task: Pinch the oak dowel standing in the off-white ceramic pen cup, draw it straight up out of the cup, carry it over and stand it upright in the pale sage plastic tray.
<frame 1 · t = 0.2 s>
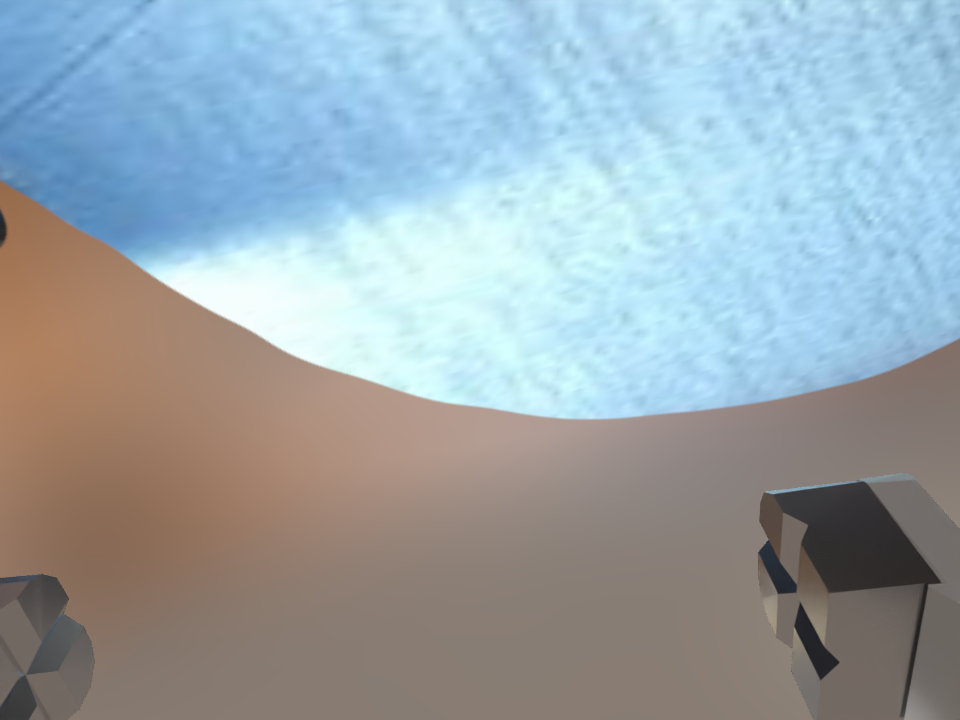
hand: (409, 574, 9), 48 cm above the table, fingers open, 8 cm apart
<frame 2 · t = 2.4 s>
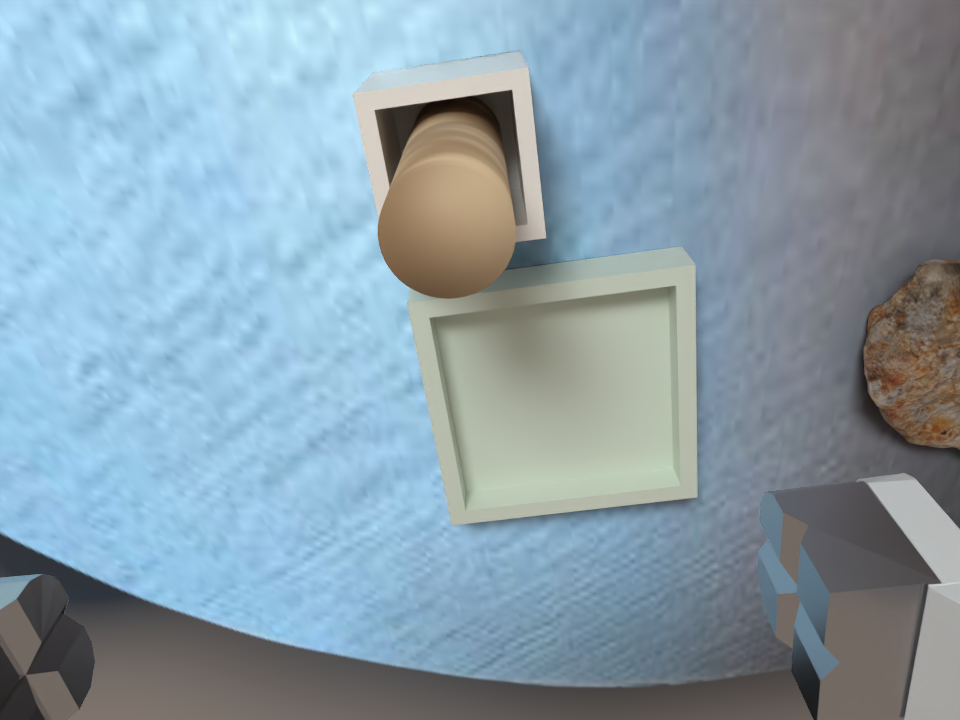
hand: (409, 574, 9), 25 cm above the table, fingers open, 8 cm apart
pen cup: (457, 136, 31), on the table
dowel: (456, 139, 30), point 1 cm above the table, touching pen cup
rock: (943, 342, 36), on the table
tray: (557, 382, 36), on the table
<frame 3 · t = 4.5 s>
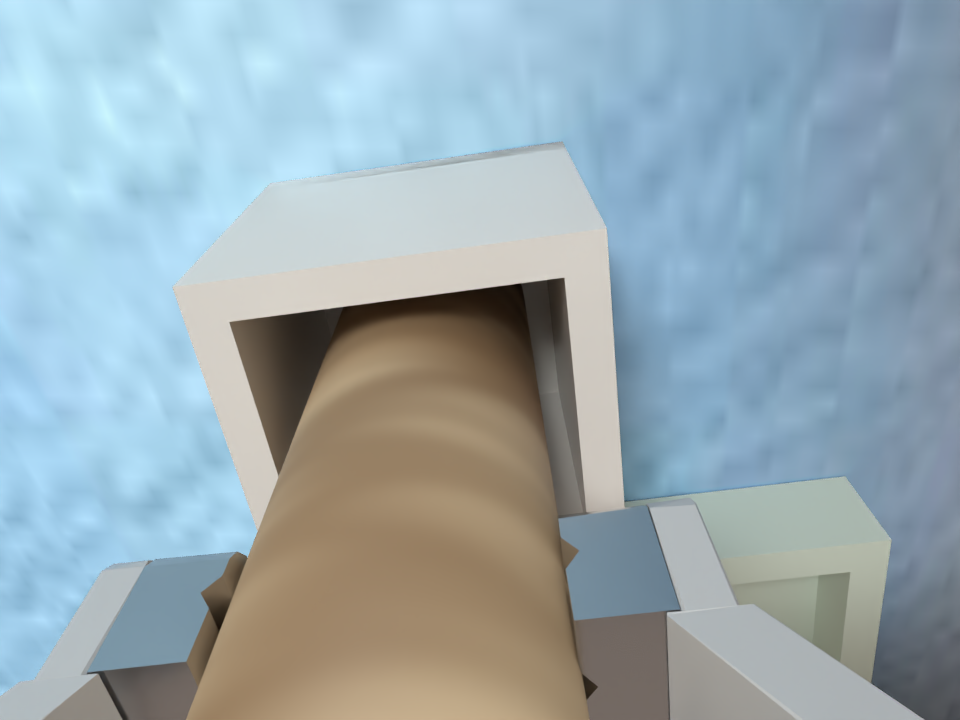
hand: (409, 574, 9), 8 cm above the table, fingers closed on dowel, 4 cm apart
pen cup: (438, 298, 16), on the table
dowel: (437, 309, 16), point 1 cm above the table, touching gripper, pen cup
tray: (612, 672, 21), on the table
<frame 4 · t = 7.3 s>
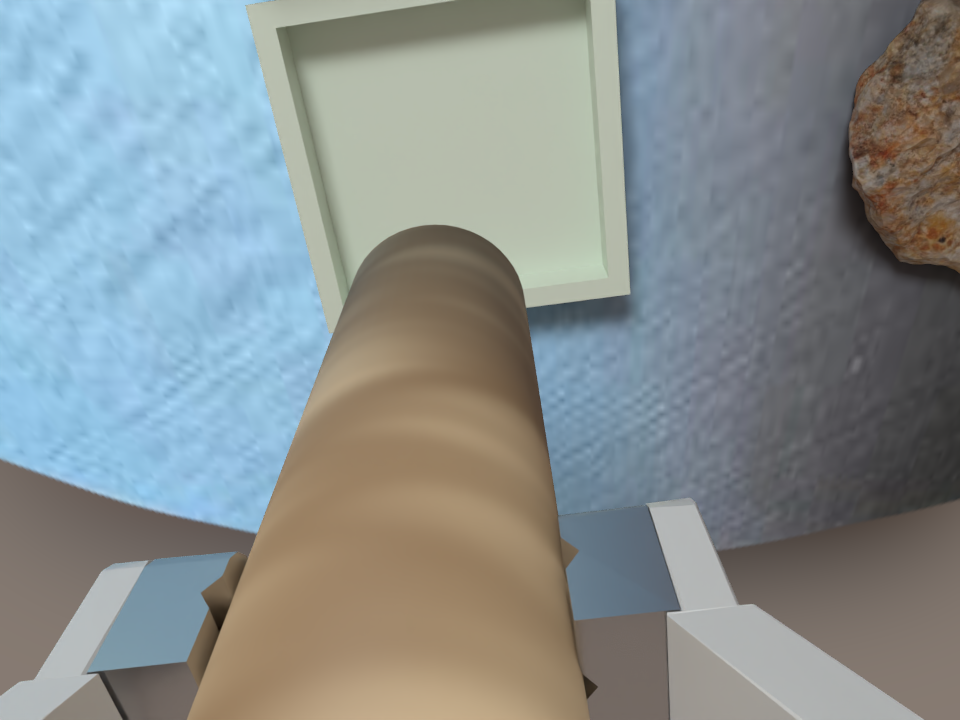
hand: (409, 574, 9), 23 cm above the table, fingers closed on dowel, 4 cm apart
dowel: (437, 309, 16), point 15 cm above the table, touching gripper
rock: (945, 132, 30), on the table
tray: (456, 148, 29), on the table
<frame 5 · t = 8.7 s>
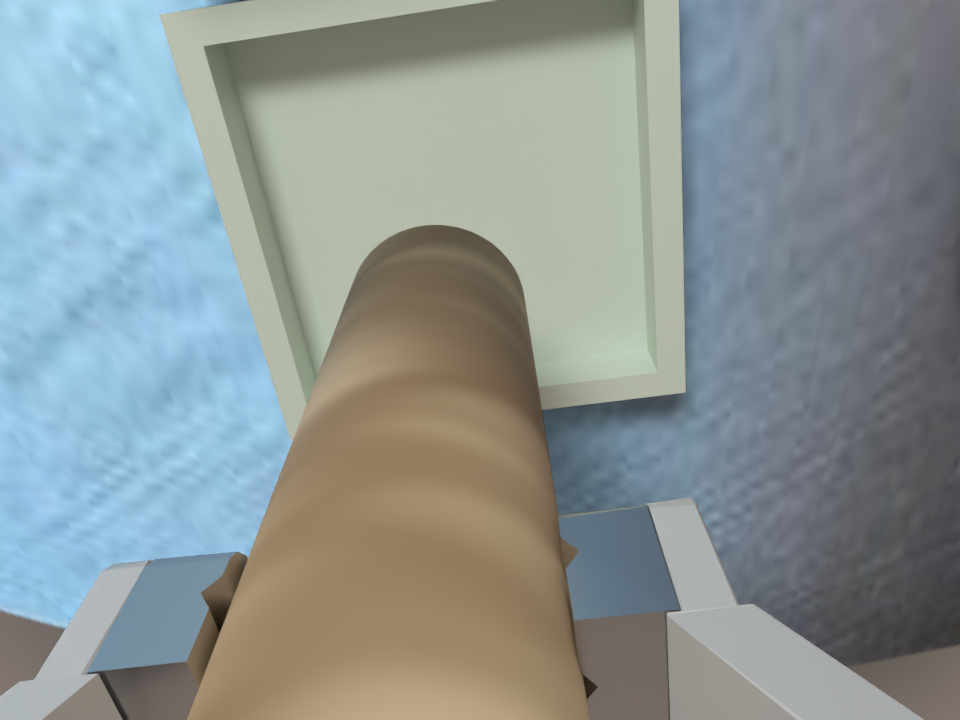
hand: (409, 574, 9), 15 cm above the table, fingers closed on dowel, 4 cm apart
dowel: (437, 309, 16), point 7 cm above the table, touching gripper
tray: (456, 201, 22), on the table
when the fingers open (9 cm above the table, at t = 10.1 s): dowel stays where it is, resting on tray.
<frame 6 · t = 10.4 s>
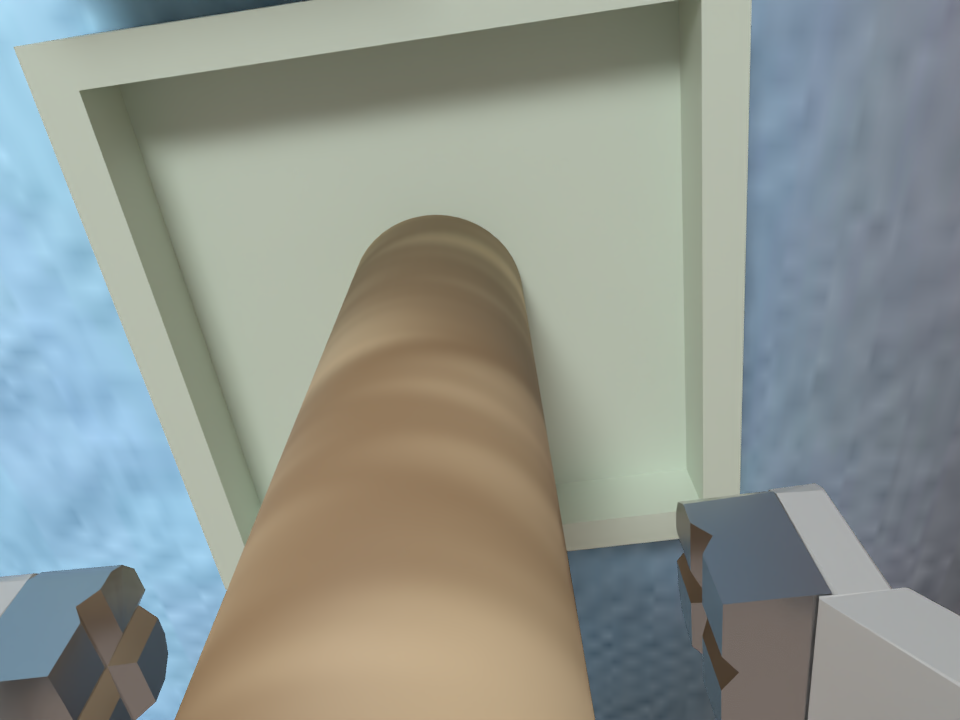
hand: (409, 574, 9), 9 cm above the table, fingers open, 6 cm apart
dowel: (438, 297, 16), point 1 cm above the table, touching tray
tray: (439, 285, 17), on the table
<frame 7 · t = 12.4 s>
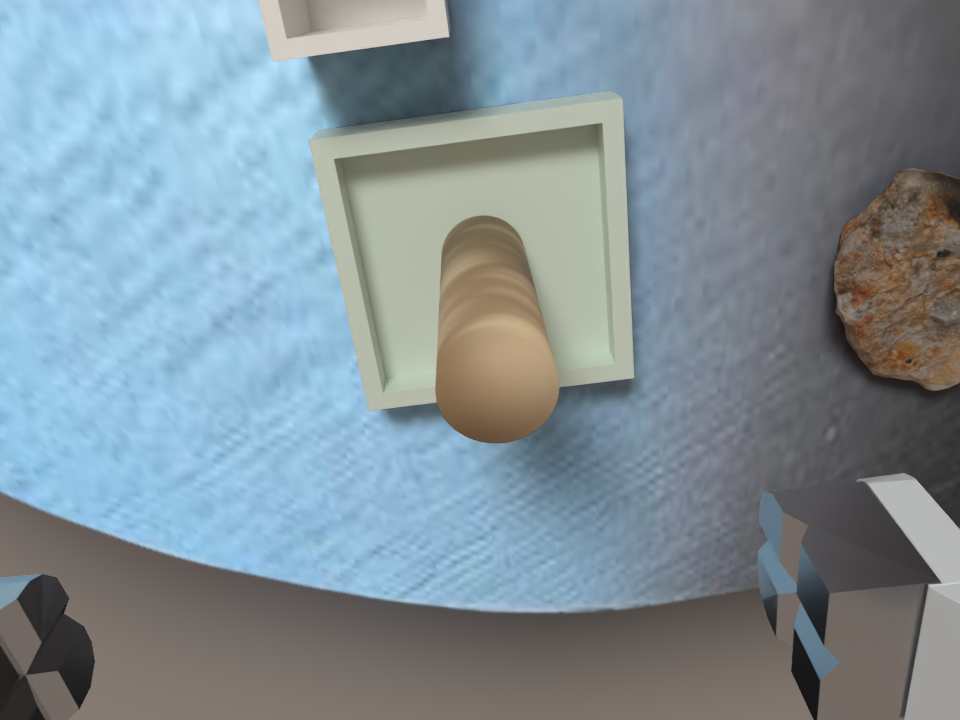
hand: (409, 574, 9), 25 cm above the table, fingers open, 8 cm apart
dowel: (483, 256, 33), point 1 cm above the table, touching tray
rock: (913, 269, 35), on the table
tray: (482, 251, 33), on the table
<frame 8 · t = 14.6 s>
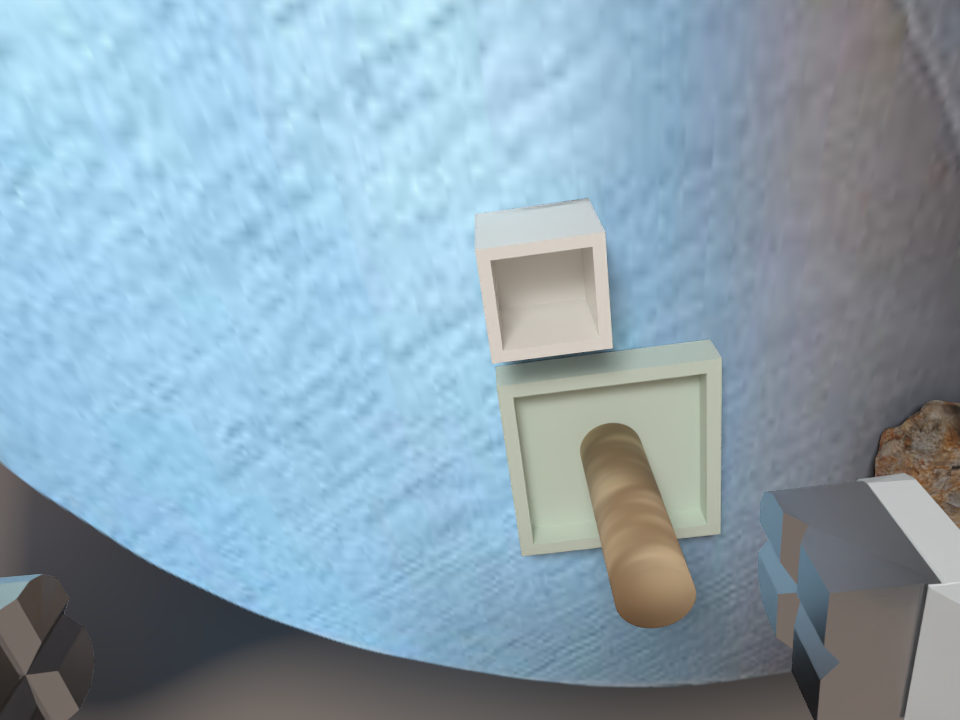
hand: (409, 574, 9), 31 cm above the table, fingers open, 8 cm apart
pen cup: (537, 259, 40), on the table
dowel: (610, 449, 44), point 1 cm above the table, touching tray
rock: (934, 457, 46), on the table
tray: (608, 441, 45), on the table
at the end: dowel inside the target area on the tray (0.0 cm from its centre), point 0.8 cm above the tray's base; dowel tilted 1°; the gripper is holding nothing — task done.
